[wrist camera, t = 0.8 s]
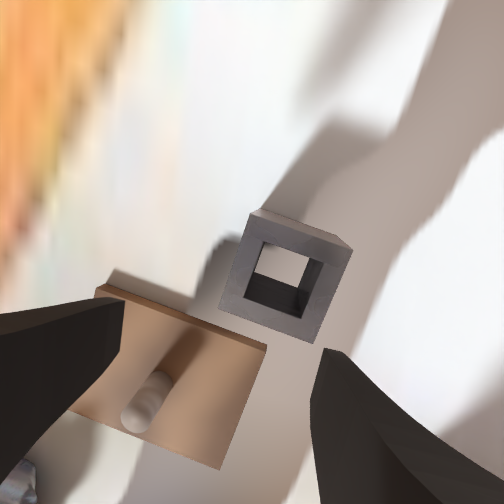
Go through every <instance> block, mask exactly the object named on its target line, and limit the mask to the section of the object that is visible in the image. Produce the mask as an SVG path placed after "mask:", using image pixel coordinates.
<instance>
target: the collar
mask: <svg viewBox="0 0 504 504" xmlns="http://www.w3.org/2000/svg"><path fill="white" fill-rule="evenodd" d="M265 242H268V243H271V244H273V245H276V246H279V247H282V248H285V249H287V250H290V251H293V252H296V253H299V254H301V255H304V256H307V257H310V258H309V261H308V263H307V266H306V269H305V271H304V273H303V276H302V278H301V281H300V283H299V286H298V288H296V287H294V286H291V285H288V284H286V283H283V282H280V281H277V280H275V279H272V278H269V277H267V276H264V275H261V274H258V273H255V272H254V271H255V268H256V265H257V262H258V260H259V257H260V254H261V251H262V249H263V246H264V243H265ZM352 252H353V250H352V249H351V248H350V247H349V246H348V245H347V244H346V243H344V242H343V241H342V240H341V239H340V238H339V237H338V236H336V235H334V234H331V233H328V232H325V231H322V230H320V229H317V228H314V227H311V226H308V225H306V224H303V223H300V222H297V221H294V220H292V219H289V218H286V217H283V216H280V215H278V214H275V213H272V212H269V211H266V210H264V209H261V208H259V209H258V210H256V211H254V212H252V213H250V215H249V218H248V221H247V224H246V227H245V230H244V233H243V236H242V239H241V242H240V245H239V248H238V251H237V254H236V257H235V260H234V263H233V265H232V269H231V271H230V275H229V277H228V280H227V283H226V286H225V289H224V292H223V295H222V298H221V301H220V304H219V307H218V309H221V310H223V311H226V312H228V313H231V314H234V315H236V316H239V317H242V318H244V319H247V320H250V321H252V322H255V323H258V324H260V325H263V326H266V327H268V328H271V329H274V330H276V331H279V332H282V333H285V334H287V335H290V336H292V337H295V338H298V339H300V340H303V341H306V342H308V343H311V344H313V342H314V340H315V338H316V336H317V333H318V331H319V329H320V327H321V324H322V322H323V320H324V317H325V315H326V313H327V310H328V308H329V305H330V303H331V301H332V298H333V296H334V294H335V292H336V289H337V287H338V285H339V282H340V280H341V278H342V275H343V273H344V271H345V268H346V266H347V263H348V261H349V259H350V257H351V254H352Z"/></svg>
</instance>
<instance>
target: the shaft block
mask: <svg viewBox="0 0 504 504" xmlns="http://www.w3.org/2000/svg"><path fill="white" fill-rule="evenodd" d="M100 297H112V298H117V299H121V300H125V309H124V318H123V327H122V336H121V345H120V352H119V353H118V355H117V356H116V357H115V359H114V360H113V361H112V363H111V364H110V365H109V367H108V368H107V369H106V370H105V372H104V373H103V374H102V375H101V376H100V377H99V378H98V379H97V380H96V381H95V382H94V383H93V384H92V385H91V386H90V387H89V389H88V390H87V391H86V392H85V393H84V394H83V395H82V396H80V397H79V398H78V399H77V400H76V401H75V402H74V403H73V404H72V405H71V406H70V407H69V408H68V409H67V410H70V411H72V412H75V413H77V414H80V415H82V416H85V417H87V418H90V419H92V420H95V421H97V422H100V423H102V424H105V425H107V426H110V427H112V428H115V429H117V430H120V431H122V432H125V433H127V434H130V435H132V436H135V437H137V438H140V439H142V440H145V441H147V442H150V443H152V444H155V445H157V446H160V447H162V448H165V449H167V450H170V451H172V452H175V453H177V454H180V455H182V456H185V457H187V458H190V459H192V460H195V461H197V462H200V463H202V464H205V465H207V466H209V467H212V468H215V469H217V470H220V468H221V465H222V463H223V460H224V458H225V455H226V453H227V450H228V447H229V445H230V442H231V440H232V437H233V435H234V432H235V430H236V427H237V425H238V422H239V420H240V417H241V414H242V412H243V409H244V407H245V404H246V402H247V399H248V397H249V394H250V392H251V389H252V387H253V384H254V382H255V379H256V376H257V374H258V371H259V369H260V366H261V364H262V361H263V358H264V356H265V354H266V349H267V345H266V344H264V343H261V342H259V341H256V340H253V339H250V338H248V337H245V336H243V335H240V334H237V333H235V332H232V331H229V330H226V329H224V328H221V327H219V326H216V325H213V324H211V323H208V322H206V321H203V320H200V319H198V318H195V317H192V316H190V315H187V314H184V313H182V312H179V311H176V310H174V309H171V308H168V307H166V306H163V305H161V304H158V303H155V302H153V301H150V300H147V299H145V298H142V297H139V296H137V295H134V294H131V293H129V292H126V291H123V290H121V289H118V288H115V287H113V286H110V285H108V284H103V285H101V286H99V287H97V288H96V290H95V295H94V298H100Z"/></svg>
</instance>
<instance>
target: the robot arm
mask: <svg viewBox="0 0 504 504" xmlns="http://www.w3.org/2000/svg"><path fill="white" fill-rule="evenodd" d="M124 309H125V300H121V299H117V298H112V297H100V298H93V299H87V300H81V301H76V302H70V303H65V304H60V305H54V306H49V307H43V308H37V309H31V310H24V311H18V312H12V313H4V314H0V485H1V484H2V482H3V481H4V480H5V479H6V477H7V476H8V475H9V474H10V472H11V471H12V470H13V469H14V467H15V466H16V465H17V464H18V463H19V462H20V460H21V459H22V458H23V457H24V456H25V454H26V453H27V452H28V451H29V450H30V448H31V447H32V446H33V445H34V444H35V443H36V441H37V440H38V439H39V438H40V437H41V436H42V435H43V434H44V433H45V432H46V430H47V429H48V428H49V427H50V426H51V425H52V424H53V423H54V422H55V421H56V420H57V419H58V418H59V417H60V416H61V415H62V414H63V413H64V412H65V411H66V410H67V409H68V408H69V407H70V406H71V405H72V404H73V403H74V402H75V401H76V400H77V399H78V398H79V397H80V396H82V395H83V394H84V393H85V392H86V391H87V390H88V389H89V387H90V386H91V385H92V384H93V383H94V382H95V381H96V380H97V379H98V378H99V377H100V376H101V375H102V374H103V373H104V372H105V370H106V369H107V368H108V367H109V365H110V364H111V363H112V361H113V360H114V359H115V357H116V356H117V355H118V353H119V352H120V345H121V336H122V327H123V318H124ZM310 429H311V437H312V444H313V452H314V459H315V466H316V473H317V480H318V487H319V494H320V502H321V504H504V481H503V480H502V479H500V478H498V477H497V476H495V475H493V474H492V473H490V472H489V471H487V470H485V469H484V468H482V467H481V466H479V465H477V464H476V463H474V462H473V461H471V460H470V459H468V458H467V457H465V456H464V455H462V454H461V453H459V452H458V451H456V450H455V449H453V448H452V447H450V446H449V445H448V444H446V443H445V442H443V441H442V440H441V439H439V438H438V437H437V436H435V435H434V434H433V433H431V432H430V431H429V430H427V429H426V428H425V427H424V426H422V425H421V424H420V423H418V422H417V421H416V420H414V419H413V418H412V417H411V416H410V415H408V414H407V413H406V412H405V411H404V410H403V409H401V408H400V407H399V406H398V405H397V404H396V403H395V402H394V401H392V400H391V399H390V398H389V397H388V396H387V395H386V394H385V393H384V392H383V391H382V390H381V389H379V388H378V387H377V386H376V385H375V384H374V383H373V382H372V381H371V380H370V379H369V378H368V377H367V376H366V375H365V374H364V373H363V372H362V371H361V370H360V369H359V368H358V367H357V365H356V364H355V363H354V362H353V361H352V360H351V359H350V358H348V357H347V356H346V355H345V354H344V353H343V352H340V351H336V350H332V349H328V348H324V350H323V354H322V357H321V361H320V365H319V368H318V372H317V376H316V379H315V383H314V387H313V391H312V394H311V398H310Z"/></svg>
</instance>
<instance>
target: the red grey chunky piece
mask: <svg viewBox="0 0 504 504" xmlns="http://www.w3.org/2000/svg"><path fill="white" fill-rule="evenodd" d="M35 485H36V469H35V466H34V465H33V464H32V463H31V462H29V461H28V460H26V459H23V458H22V459H21V460H20V462H19V463H18V464H17V465H16V466H15V467H14V469H13V470H12V471H11V472H10V474H9V475H8V476H7V477H6V479H5V480H4V481H3V482H2V484H1V485H0V504H37V501H38V499H37V495H36V493H35Z"/></svg>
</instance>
